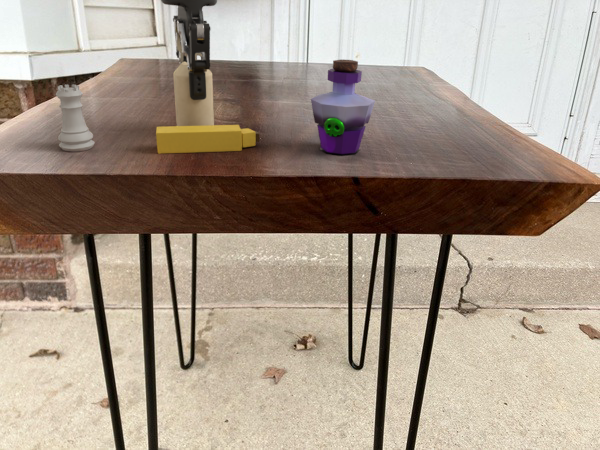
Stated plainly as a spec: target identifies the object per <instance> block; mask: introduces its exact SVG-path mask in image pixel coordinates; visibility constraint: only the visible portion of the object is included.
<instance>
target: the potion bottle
mask: <svg viewBox="0 0 600 450" xmlns="http://www.w3.org/2000/svg"><path fill="white" fill-rule="evenodd" d="M358 66H359V61H358V60H353V59H335V60H332V68H330V69H328V70H327V81H328V82H332V91H329V92H325V93H319V94H317V95H316V96H314V97H311V98H310V104H311V109H312V114H313V119H314V124H317V125H316V126H317V133H318V138H319V143H320V148H319V151H321V152H323V153H325V154H326V155H333V156H339V157H340V156H342V157H344V156H351V155H352V156H354V155H356V154H358V153H359V152H360V147H361V143H362V140H363V137H364V132H365V130H366V124H369V123H370V122H369V121H370V119H371V115H372V112H373V110H374V106H375V103H376V100H375V99H372V98H370V97H367V96H364V95H362V94H359V93H355V91H356V84H359V83H360V82H362V74H363V71H362V70H359V69H358Z"/></svg>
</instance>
